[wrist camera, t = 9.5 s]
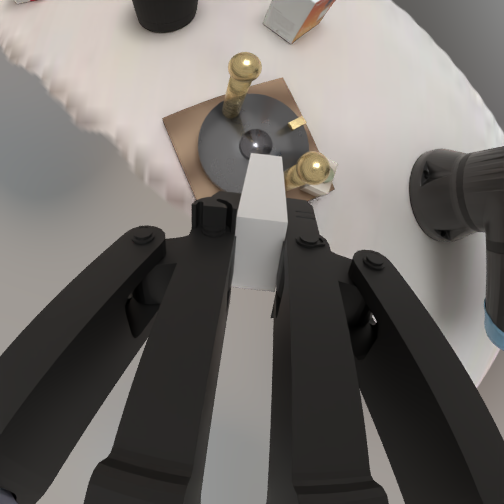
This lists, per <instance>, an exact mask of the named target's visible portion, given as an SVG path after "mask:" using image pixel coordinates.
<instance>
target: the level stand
mask: <svg viewBox="0 0 504 504" xmlns="http://www.w3.org/2000/svg"><path fill="white" fill-rule="evenodd" d="M247 94H261V95H266V96H269V97H272V98H275V99H277V100H279V101H281V102H282V103H284V104H285V105H287V106H288V107H289V108H290V109H291V110H292V111H293V112H294V113H295V114H296V115H297V116H298V118H299V117H301V116H302V114H301V112H300V110H299V108H298V106H297V104H296V102H295V100H294V98H293V96H292V94H291V92H290V90H289V89H288V87H287V85H286V83H285V81H284V79H283V78H279V79H275V80H272V81H268V82H264V83H261V84H257V85H254V86H250V87H249V89H248V92H247ZM225 95H226V94H225ZM225 95H222V96H219V97H216V98H213V99H211V100H208V101H205V102H202V103H200V104H197V105H194V106H192V107H189V108H186V109H184V110H181V111H179V112H176V113H174V114H171V115H169V116H167V117H164V118H162V119H163V122H164V124H165V127H166V129H167V132H168V134H169V136H170V139H171V141H172V144H173V146H174V148H175V151H176V153H177V155H178V158H179V160H180V163H181V165H182V167H183V170H184V172H185V174H186V177H187V179H188V181H189V184H190V186H191V188H192V191H193V193H194V195H195V198H196V200H198V199H200V198H205V197H212V195H214V194H216V193H217V192H219V191H221V190H220V189H219V188H217V187H216V186H215V185H214V184H213V183H212V182H211V181H210V180H209V178H208V177H207V176H206V174H205V172H204V170H203V168H202V166H201V163H200V160H199V155H198V137H199V132H200V129H201V126H202V123H203V121H204V119H205V118H206V116H207V115H208V114H209V112H210V111H211V110H212V109H213V108H214V107H215V106H216V105H218V104H219V103H220V102H222V101H224V99H225ZM302 117H303V116H302ZM303 126H304V128H305V130H306V133H307V137H308V142H309V152H310V151H315V152H319V151H318V149H317V147H316V144H315V142H314V140H313V138H312V136H311V133H310V131H309V129H308V127H307V125H306V124H304V125H303ZM327 159H328V158H327ZM328 161H329V163H330V174H329V176H328V178H327V179H326V180H325V181H324V182H323V183H321V184H319V185H308V184H305V185H302V186H299V187H297V188H294V189H291V190H289V191H286V192H285V195H286V198H293V199H300V200H306V201H309V200H311V199H313V198H316V197H318V196H322V195H327V194H328V193H329V192H330V191H332V190H334V186H333V184H332V181H333V178H334V175H335V172H336V169H337V166H338V164H337V163H336V162H334V161H332V160H330V159H328Z"/></svg>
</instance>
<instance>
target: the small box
mask: <svg viewBox="0 0 504 504" xmlns="http://www.w3.org/2000/svg"><path fill="white" fill-rule="evenodd" d="M334 1H335V0H272V2H271V4H270V7H269V9H268V12H267V14H266V17H265V19H264V22H263V24H264V25H266V26H267V27H268V28H270V29H271V30H273V31H274V32H275V33H277V34H278V35H279V36H281V37H282V38H284V39H285V40H286V41H288V42H289V43H290V44H292V43H293V42H294V41H295V40H297V39H298V38H299V37H300V36H302V35H303V34H305V33H306V32H307V31H309V30H310V29H312V28H313V27H315V26H316V25H317V24H319V23H320V21H321V20H322V18H323V17H324V15H325V14H326V13H327V11H328V10H329V8H330V7H331V6H332V4H333V3H334Z"/></svg>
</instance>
